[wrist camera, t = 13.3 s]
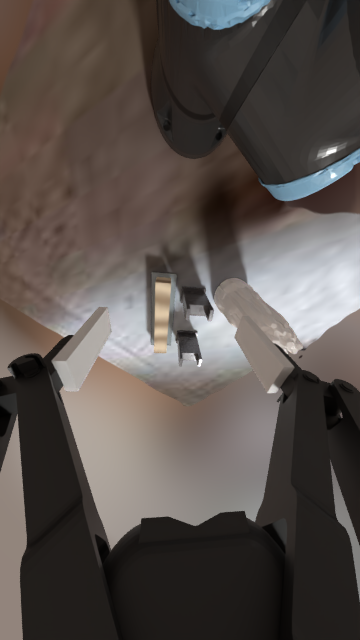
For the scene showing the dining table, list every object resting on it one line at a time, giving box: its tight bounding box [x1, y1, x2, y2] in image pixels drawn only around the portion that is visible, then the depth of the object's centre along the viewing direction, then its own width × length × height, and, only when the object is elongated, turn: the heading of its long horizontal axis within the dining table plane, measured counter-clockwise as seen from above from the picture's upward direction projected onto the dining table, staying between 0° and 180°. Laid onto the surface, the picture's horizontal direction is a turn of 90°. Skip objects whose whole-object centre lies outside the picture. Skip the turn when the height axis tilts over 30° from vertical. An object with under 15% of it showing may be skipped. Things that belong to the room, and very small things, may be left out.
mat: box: [151, 272, 177, 346], centre depth 49 cm, size 26×7×1 cm, turn 174°
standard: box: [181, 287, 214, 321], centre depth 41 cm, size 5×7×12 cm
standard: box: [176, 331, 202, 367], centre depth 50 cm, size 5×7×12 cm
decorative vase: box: [214, 278, 303, 354], centre depth 37 cm, size 11×11×25 cm
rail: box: [154, 277, 171, 353], centre depth 47 cm, size 24×4×5 cm, turn 174°
